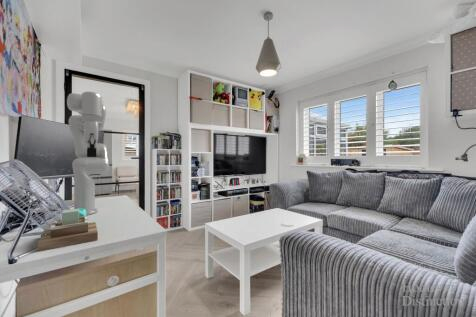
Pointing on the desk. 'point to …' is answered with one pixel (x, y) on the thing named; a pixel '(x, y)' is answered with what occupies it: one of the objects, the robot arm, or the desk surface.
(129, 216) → the desk surface
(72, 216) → the sage block
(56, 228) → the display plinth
